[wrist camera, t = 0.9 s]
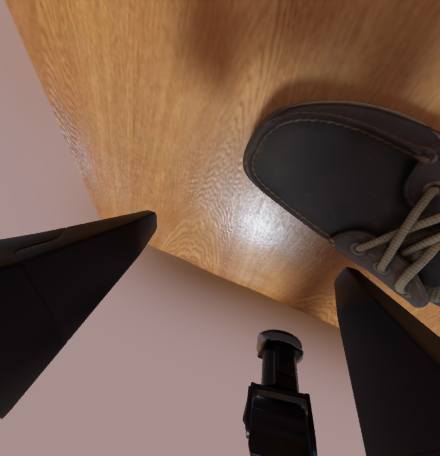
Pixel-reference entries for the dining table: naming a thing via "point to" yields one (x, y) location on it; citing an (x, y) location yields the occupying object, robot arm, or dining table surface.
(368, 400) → the robot arm
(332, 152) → the boat shoe
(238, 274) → the dining table surface
